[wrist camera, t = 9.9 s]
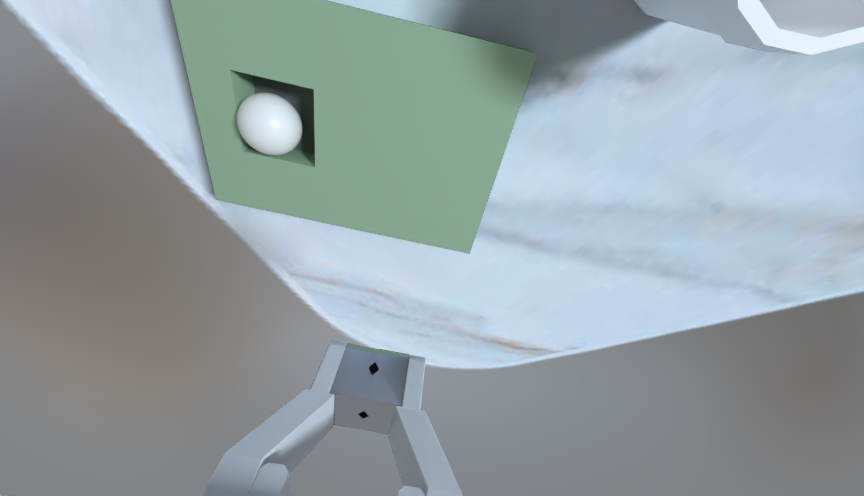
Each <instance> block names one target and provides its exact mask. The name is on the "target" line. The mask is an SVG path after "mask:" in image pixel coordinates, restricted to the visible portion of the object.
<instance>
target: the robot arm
mask: <svg viewBox="0 0 864 496" xmlns="http://www.w3.org/2000/svg"><path fill="white" fill-rule="evenodd" d="M424 371H425V357H419V356H413V355H409V354H405V353H399V352H393V351H388V350H382V349H375V348H370V347H365V346H360V345H355V344H350V343H346V342H341V341H335V340H332V341H331V343H330V344H329V346H328V348H327V350H326V353H325V355H324V358H323V360H322V363H321V365H320V367H319V369H318V372H317V374H316V377H315V379H314V381H313V384H312V386H311V389H304V390H303V391H302V392H301V393H299V394H298V395H297V396H296V397H294V398H293V399H292V400H291V401H289V402H288V403H287V404H286V405H284V406H283V407H282V408H281V409H279V410H278V411H277V412H276V413H274V414H273V415H272V416H271V417H269V418H268V419H267V420H266V421H264V422H263V423H262V424H261V425H260V426H258V427H257V428H256V429H254V430H253V431H252V432H251V433H249V434H248V435H247V436H246V437H245V438H243V439H242V440H241V441H240V442H238V443H237V444H236V445H235V446H233V447H232V448H231V449H230V450H228V451H227V452H226V453H225V454H224V456H223V458H222V460H221V462H220V463H219V465H218V467H217V469H216V471H215V472H214V474H213V476H212V478H211V480H210V481H209V483H208V485H207V486H206V488H205V490H204V492H203V494H202V495H201V496H292V490H291V485H290V479H289V474H290V473H291V472H292V471H293V470H294V469H295V468H296V467H297V466H298V465H299V464H300V462H301V461H302V460H303V459H304V458H305V457H306V456H307V455H308V454H309V453H310V451H312V449H313V448H314V447H315V446H316V445H317V444H318V443H319V442H320V441H321V440H322V439H323V438H324V437H325V435H326V434H327V433H328V432H329V431H330V430H331V429H332V428H333V425H337V426H343V427H350V428H357V429H363V430H368V431H373V432H378V433H382V434H387V435H388V437H389V441H390V444H391V448H392V451H393V455H394V458H395V461H396V465H397V468H398V471H399V475H400V478H401V482H402V485H403V488H402V489H401V490H400V491H399V492H398V495H397V496H462V492H461V490H460V488H459V486H458V484H457V482H456V479H455V477H454V475H453V472H452V470H451V468H450V466H449V463H448V461H447V459H446V457H445V455H444V452H443V450H442V448H441V446H440V443H439V441H438V439H437V437H436V434H435V432H434V430H433V428H432V426H431V423H430V421H429V419H428V417H427V415H426V412H425V411H423V410H420V407H421V398H422V389H423V380H424ZM0 496H10V495H3V494H0Z"/></svg>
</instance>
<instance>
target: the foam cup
mask: <svg viewBox="0 0 864 496" xmlns="http://www.w3.org/2000/svg"><path fill="white" fill-rule="evenodd" d="M634 1H635V3H636V4H637V5H638V6H639V7H640V9H641V10H642V11H643V12H644V13H645V14H647V15H649V16H653V17H656V18H660V19H663V20H667V21H670V22H674V23H677V24H681V25H685V26H688V27H692V28H695V29H699V30H702V31H706V32H710V33H713V34H717V35H720V36H721V37H722V38H723V39H724V41H725V42H726V43H730V44H734V45H739V46H743V47H747V48H752V49H756V50H761V51H765V52H776V53H789V54H803V55H813V54H817V53H821V52H825V51H829V50H833V49H837V48H840V47H844V46H848V45H852V44H856V43H860V42H864V0H634Z"/></svg>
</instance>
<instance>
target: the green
mask: <svg viewBox="0 0 864 496" xmlns="http://www.w3.org/2000/svg"><path fill="white" fill-rule="evenodd" d="M171 5H172V9H173V13H174V18H175V22H176V26H177V31H178V35H179V40H180V44H181V48H182V53H183V57H184V62H185V66H186V70H187V75H188V79H189V84H190V88H191V92H192V97H193V101H194V105H195V110H196V114H197V119H198V123H199V127H200V132H201V136H202V141H203V145H204V149H205V154H206V158H207V162H208V167H209V171H210V176H211V180H212V184H213V189H214V193H215V198H216V200H220V201H224V202H229V203H234V204H238V205H243V206H248V207H253V208H257V209H262V210H267V211H271V212H276V213H281V214H285V215H290V216H295V217H299V218H304V219H309V220H314V221H318V222H323V223H328V224H332V225H337V226H342V227H346V228H351V229H356V230H361V231H365V232H370V233H375V234H379V235H384V236H389V237H393V238H398V239H403V240H408V241H412V242H417V243H422V244H426V245H431V246H436V247H440V248H445V249H450V250H455V251H459V252H464V253H469V254H470V251H471V248H472V245H473V242H474V239H475V236H476V233H477V231H478V228H479V225H480V222H481V219H482V216H483V213H484V210H485V207H486V204H487V201H488V198H489V196H490V193H491V190H492V187H493V184H494V181H495V178H496V175H497V172H498V169H499V166H500V164H501V161H502V158H503V155H504V152H505V149H506V146H507V143H508V140H509V137H510V134H511V132H512V129H513V126H514V123H515V120H516V117H517V114H518V111H519V108H520V105H521V102H522V99H523V97H524V94H525V91H526V88H527V85H528V82H529V79H530V76H531V73H532V70H533V67H534V65H535V62H536V59H537V56H538V54H537V53H534V52H530V51H527V50H523V49H519V48H515V47H511V46H507V45H503V44H499V43H495V42H491V41H487V40H483V39H479V38H475V37H471V36H467V35H463V34H459V33H455V32H451V31H447V30H443V29H439V28H435V27H431V26H427V25H423V24H419V23H415V22H411V21H407V20H403V19H399V18H395V17H391V16H387V15H383V14H379V13H375V12H371V11H367V10H363V9H359V8H355V7H351V6H347V5H343V4H339V3H335V2H331V1H327V0H171ZM256 93H272V94H276V95H278V96H280V97H282V98H284V99H285V100H287V101H288V102H289V103H290V104H292V106H293V107H294V108H295V109H296V111H297V112H298V114H299V116H300V119H301V122H302V136H301V139H300V141H299V143H298V145H297V146H296V147H295V148H294V149H293V150H291V151H290V152H288V153H286V154H282V155H268V154H264V153H261V152H259V151H257V150H255V149H254V148H253V147H251V146H250V145H249V144H248V143H247V142H246V141H245V140H244V139H243V137H242V135H241V134H240V132H239V129H238V125H237V112H238V109H239V107H240V105H241V103H242V102H243V101H244V100H245V99H246V98H247V97H249V96H251V95H253V94H256Z"/></svg>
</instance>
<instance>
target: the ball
mask: <svg viewBox="0 0 864 496" xmlns="http://www.w3.org/2000/svg"><path fill="white" fill-rule="evenodd" d="M237 125H238V129H239V132H240V134H241V135H242V137H243V139H244V140H245V141H246V142H247V143H248V144H249V145H250V146H251V147H253V148H254V149H255V150H257V151H259V152H261V153H264V154H268V155H282V154H286V153H288V152H290V151H291V150H293V149H294V148H295V147H296V146H297V145H298V143H299V141H300V139H301V136H302V122H301V119H300V116H299V114H298V112H297V111H296V109H295V108H294V107H293V106H292V104H290V103H289V102H288V101H287V100H285V99H284V98H282V97H280V96H278V95H276V94H272V93H256V94H253V95H251V96H249V97H247V98H246V99H245V100H244V101H243V102H242V103H241V105H240V107H239V109H238V112H237Z"/></svg>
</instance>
